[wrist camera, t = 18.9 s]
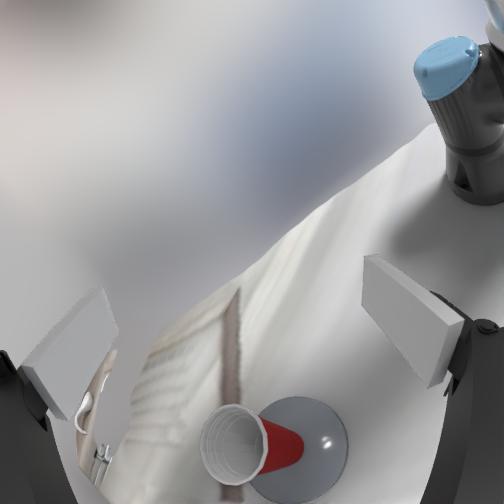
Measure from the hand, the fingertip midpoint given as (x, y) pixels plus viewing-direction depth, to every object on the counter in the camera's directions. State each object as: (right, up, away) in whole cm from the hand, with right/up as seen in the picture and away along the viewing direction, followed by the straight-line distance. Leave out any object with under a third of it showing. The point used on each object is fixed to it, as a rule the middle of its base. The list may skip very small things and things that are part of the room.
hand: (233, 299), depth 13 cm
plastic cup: (+6, -26, +18) cm, 33 cm away
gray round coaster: (+7, -27, +19) cm, 34 cm away
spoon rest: (-79, -77, +83) cm, 138 cm away
